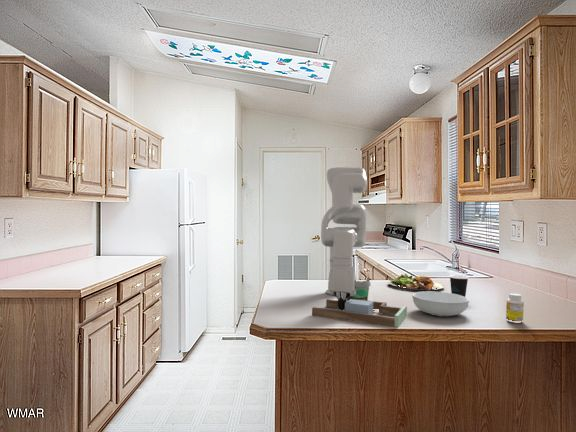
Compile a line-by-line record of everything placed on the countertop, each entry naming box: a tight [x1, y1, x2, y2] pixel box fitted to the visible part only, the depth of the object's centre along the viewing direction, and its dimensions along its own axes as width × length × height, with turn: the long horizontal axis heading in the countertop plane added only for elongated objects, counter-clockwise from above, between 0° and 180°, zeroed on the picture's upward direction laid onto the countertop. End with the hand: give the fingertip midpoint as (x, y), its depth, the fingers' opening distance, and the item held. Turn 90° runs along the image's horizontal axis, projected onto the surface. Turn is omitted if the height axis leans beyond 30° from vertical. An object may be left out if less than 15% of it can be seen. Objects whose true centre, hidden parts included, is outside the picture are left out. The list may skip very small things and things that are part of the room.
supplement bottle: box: [505, 293, 525, 321], centre depth 157 cm, size 6×6×10 cm
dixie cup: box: [448, 274, 469, 297], centre depth 190 cm, size 8×8×11 cm
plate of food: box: [388, 273, 445, 291], centre depth 223 cm, size 28×28×6 cm
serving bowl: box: [412, 290, 470, 317], centre depth 168 cm, size 21×21×7 cm
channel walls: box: [311, 299, 402, 328], centre depth 165 cm, size 22×31×3 cm
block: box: [344, 299, 374, 315], centre depth 162 cm, size 7×9×6 cm
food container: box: [346, 278, 372, 302], centre depth 182 cm, size 12×6×10 cm, turn 117°
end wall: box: [394, 305, 408, 328], centre depth 156 cm, size 16×1×4 cm, turn 154°
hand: (342, 309), depth 165 cm, fingers closed
